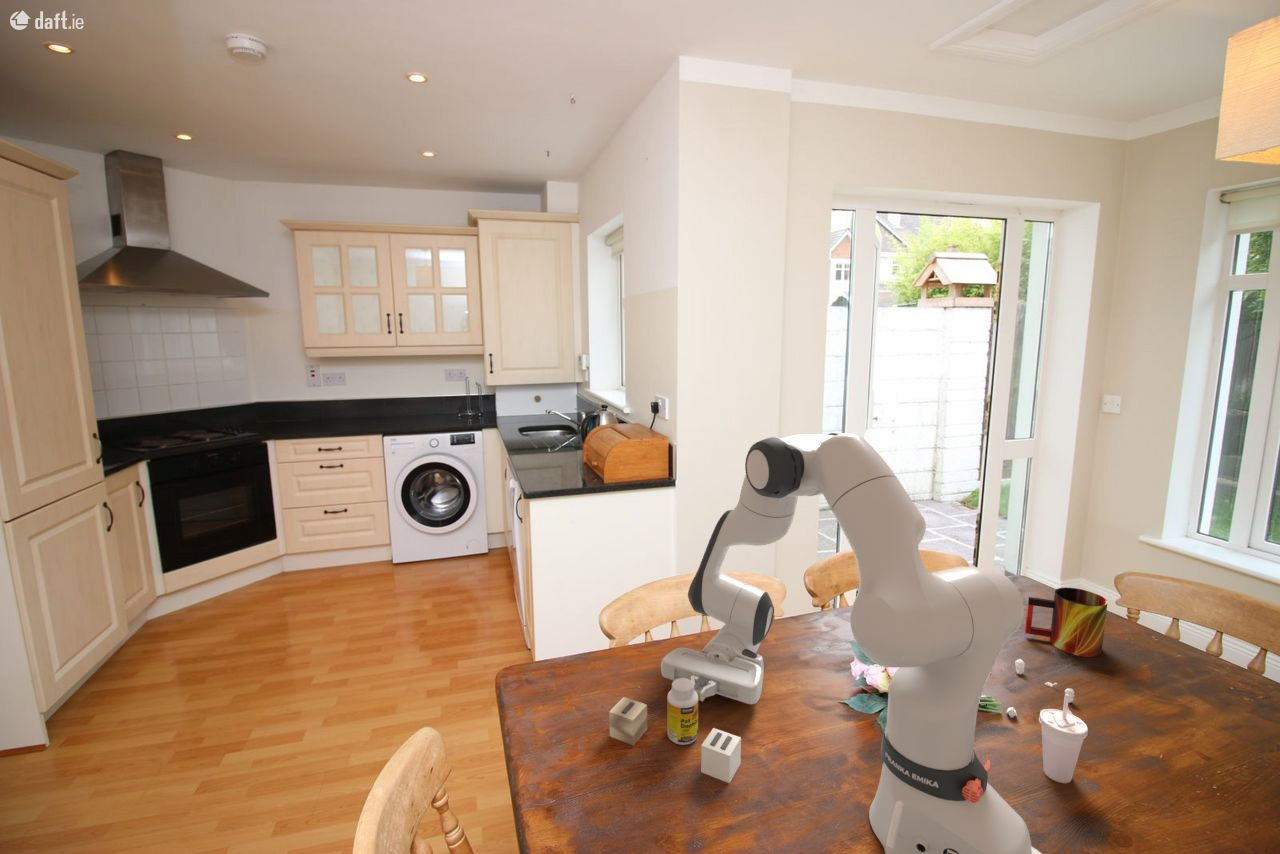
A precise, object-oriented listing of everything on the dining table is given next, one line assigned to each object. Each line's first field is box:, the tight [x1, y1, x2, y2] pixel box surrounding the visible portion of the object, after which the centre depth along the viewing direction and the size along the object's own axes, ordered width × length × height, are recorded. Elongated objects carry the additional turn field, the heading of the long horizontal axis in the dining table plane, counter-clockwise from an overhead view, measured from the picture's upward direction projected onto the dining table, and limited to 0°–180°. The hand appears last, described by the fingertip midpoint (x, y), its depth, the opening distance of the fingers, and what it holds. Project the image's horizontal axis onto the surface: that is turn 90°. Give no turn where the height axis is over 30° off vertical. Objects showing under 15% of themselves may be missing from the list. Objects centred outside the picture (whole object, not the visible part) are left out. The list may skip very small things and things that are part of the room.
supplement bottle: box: [666, 678, 699, 746], centre depth 105 cm, size 6×6×10 cm
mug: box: [1024, 587, 1109, 658], centre depth 134 cm, size 10×14×12 cm
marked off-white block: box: [700, 727, 742, 784], centre depth 98 cm, size 5×5×5 cm
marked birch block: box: [608, 696, 648, 747], centre depth 107 cm, size 5×5×5 cm
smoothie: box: [1038, 693, 1089, 784], centre depth 95 cm, size 6×6×14 cm
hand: (695, 695), depth 110 cm, fingers closed
